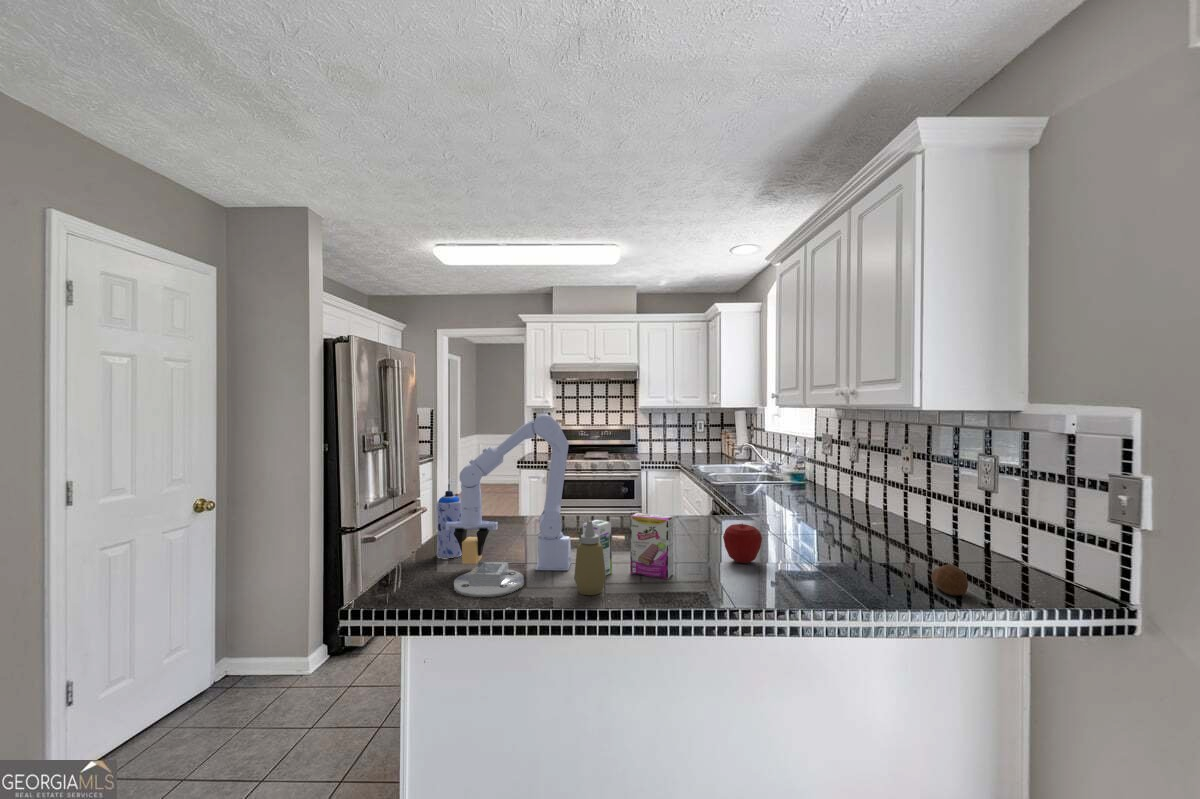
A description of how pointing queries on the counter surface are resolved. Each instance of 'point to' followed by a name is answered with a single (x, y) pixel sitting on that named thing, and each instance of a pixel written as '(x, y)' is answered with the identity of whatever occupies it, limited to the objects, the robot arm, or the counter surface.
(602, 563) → the squeeze bottle
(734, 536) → the apple
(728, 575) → the counter surface
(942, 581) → the potato
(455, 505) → the aerosol can
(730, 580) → the counter surface
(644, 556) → the candy bar box
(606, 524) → the syrup box
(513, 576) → the gray round plate
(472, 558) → the tan rectangular block
